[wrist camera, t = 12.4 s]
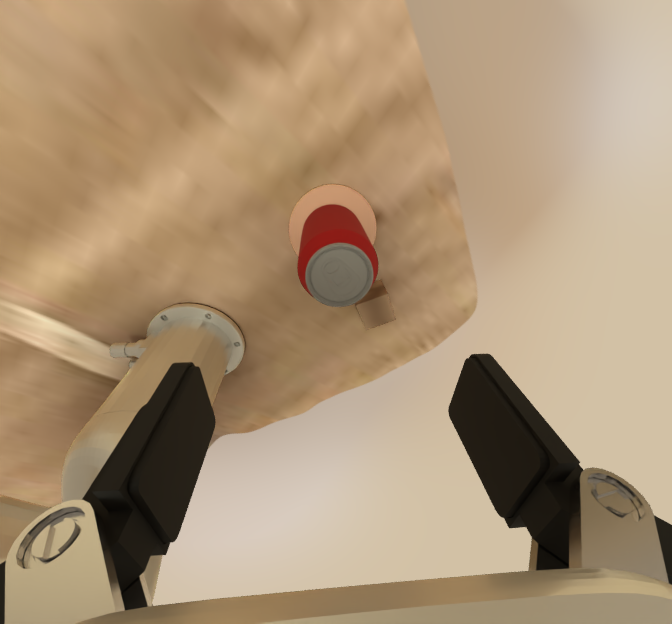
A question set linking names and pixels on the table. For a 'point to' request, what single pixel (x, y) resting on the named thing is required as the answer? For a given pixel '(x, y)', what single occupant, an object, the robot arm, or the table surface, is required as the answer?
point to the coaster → (331, 196)
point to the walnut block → (375, 307)
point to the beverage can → (336, 257)
